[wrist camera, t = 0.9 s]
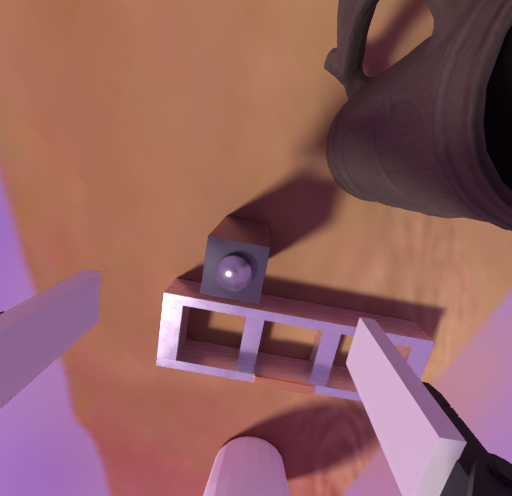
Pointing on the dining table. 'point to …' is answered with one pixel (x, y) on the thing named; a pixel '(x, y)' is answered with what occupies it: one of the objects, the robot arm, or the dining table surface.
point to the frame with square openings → (268, 365)
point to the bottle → (247, 470)
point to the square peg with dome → (236, 260)
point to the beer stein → (429, 114)
